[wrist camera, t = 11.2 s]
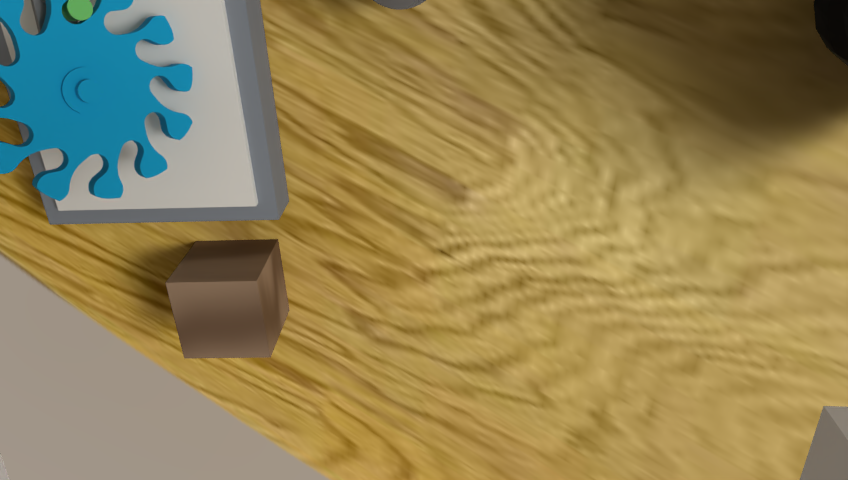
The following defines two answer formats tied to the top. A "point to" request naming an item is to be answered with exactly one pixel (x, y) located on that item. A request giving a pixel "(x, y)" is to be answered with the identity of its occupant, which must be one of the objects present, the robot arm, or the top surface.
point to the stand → (209, 133)
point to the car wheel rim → (833, 26)
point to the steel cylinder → (399, 3)
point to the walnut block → (229, 299)
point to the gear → (86, 92)
